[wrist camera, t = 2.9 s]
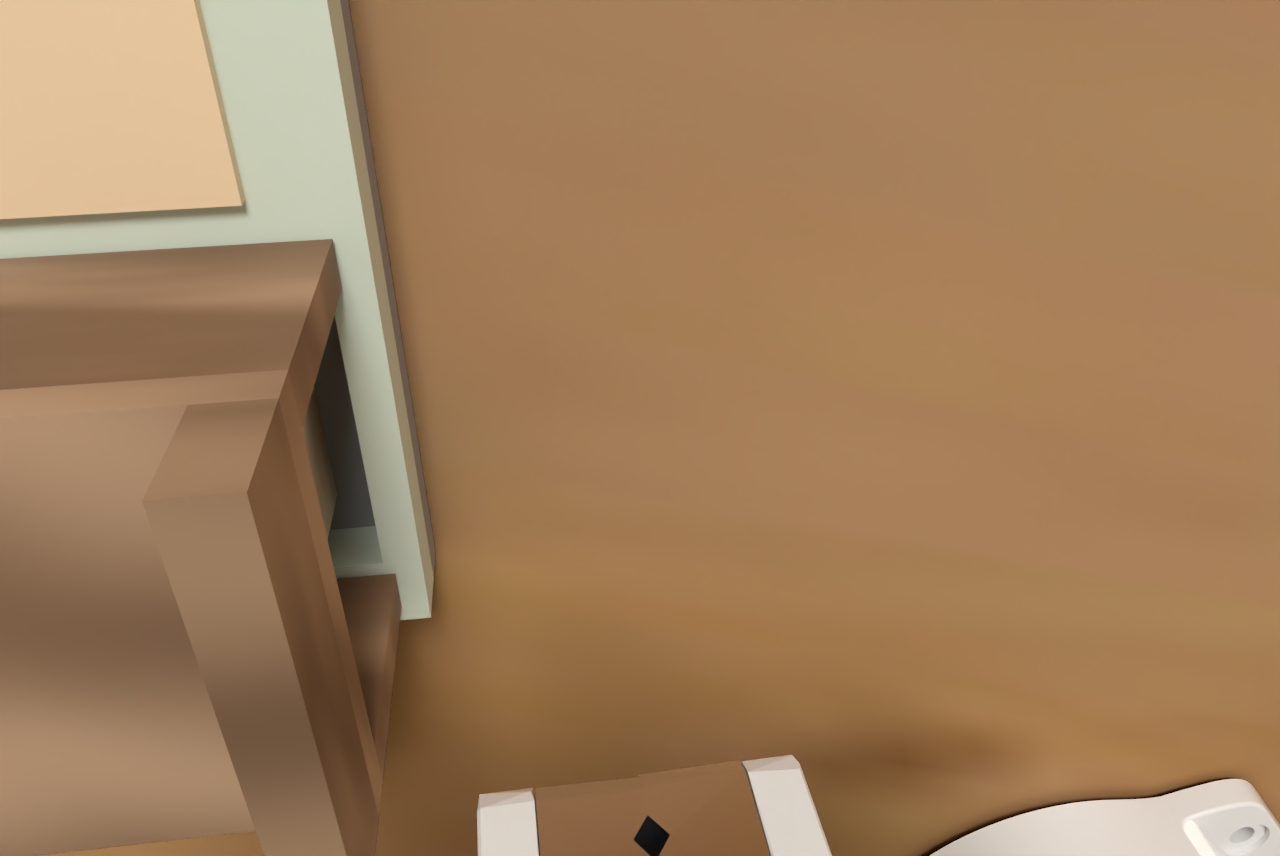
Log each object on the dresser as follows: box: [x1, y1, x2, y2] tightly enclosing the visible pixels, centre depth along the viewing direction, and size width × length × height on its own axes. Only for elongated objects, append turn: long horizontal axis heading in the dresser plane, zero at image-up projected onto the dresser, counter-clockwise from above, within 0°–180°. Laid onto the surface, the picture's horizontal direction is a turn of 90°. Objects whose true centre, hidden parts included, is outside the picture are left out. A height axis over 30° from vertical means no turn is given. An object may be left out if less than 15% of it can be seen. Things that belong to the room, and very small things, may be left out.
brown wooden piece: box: [0, 239, 402, 856], centre depth 18 cm, size 9×7×8 cm
